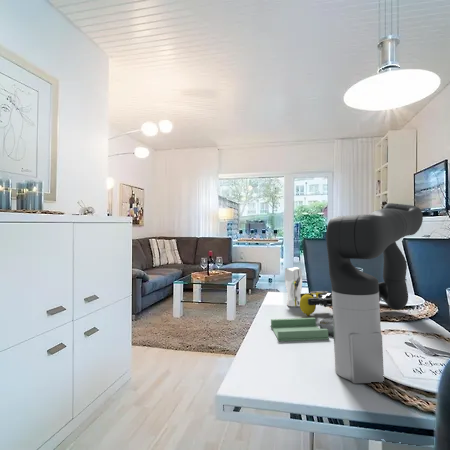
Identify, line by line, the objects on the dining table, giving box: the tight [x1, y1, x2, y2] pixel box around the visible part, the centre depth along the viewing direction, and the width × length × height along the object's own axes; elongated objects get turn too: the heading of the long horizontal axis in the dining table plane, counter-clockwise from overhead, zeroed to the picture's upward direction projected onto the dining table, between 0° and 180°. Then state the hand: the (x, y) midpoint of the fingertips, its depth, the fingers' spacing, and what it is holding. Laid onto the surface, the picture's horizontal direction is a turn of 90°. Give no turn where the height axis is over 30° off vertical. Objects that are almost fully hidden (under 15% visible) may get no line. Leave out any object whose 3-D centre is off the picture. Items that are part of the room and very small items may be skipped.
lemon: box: [299, 292, 317, 317], centre depth 108 cm, size 6×6×8 cm
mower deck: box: [319, 317, 334, 338], centre depth 91 cm, size 14×14×2 cm
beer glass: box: [284, 267, 303, 308], centre depth 124 cm, size 7×7×15 cm
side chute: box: [270, 317, 330, 342], centre depth 91 cm, size 14×14×2 cm
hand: (304, 299), depth 108 cm, fingers open, 8 cm apart
